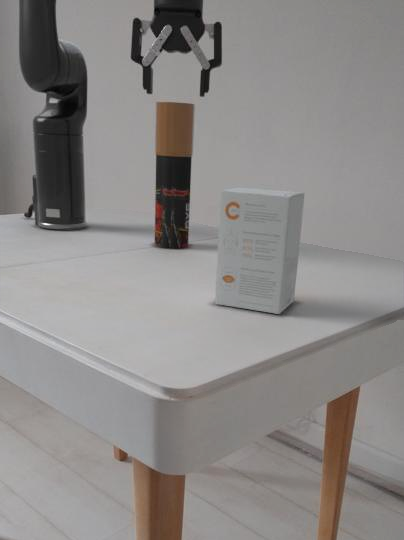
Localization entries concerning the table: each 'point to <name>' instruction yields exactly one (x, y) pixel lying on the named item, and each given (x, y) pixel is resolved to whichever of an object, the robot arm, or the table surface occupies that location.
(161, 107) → the cup
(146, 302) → the table surface
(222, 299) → the small box
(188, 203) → the deodorant
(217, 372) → the table surface
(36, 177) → the robot arm
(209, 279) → the table surface
